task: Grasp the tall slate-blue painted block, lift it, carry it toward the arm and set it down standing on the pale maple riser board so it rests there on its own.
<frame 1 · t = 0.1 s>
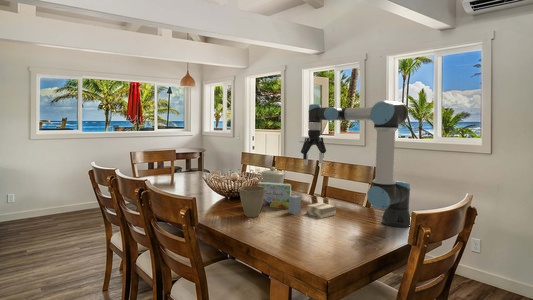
hand: (313, 164, 212), 28 cm above the table, fingers open, 13 cm apart
plant pot: (251, 216, 196), on the table
slate-blue block: (294, 213, 203), on the table
maple riser: (321, 214, 202), on the table
canister: (272, 195, 252), on the table
snack box: (273, 207, 218), on the table
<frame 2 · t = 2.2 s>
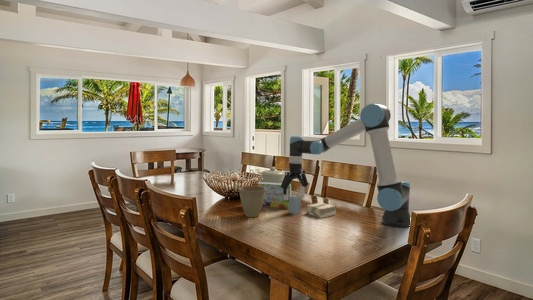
hand: (294, 198, 203), 9 cm above the table, fingers open, 13 cm apart
nothing on the table moved.
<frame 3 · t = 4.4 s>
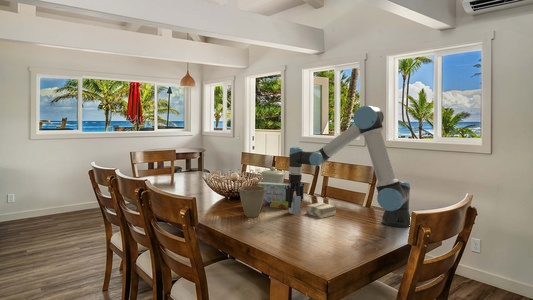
hand: (294, 212, 204), 0 cm above the table, fingers closed on slate-blue block, 5 cm apart
slate-blue block: (294, 212, 203), on the table, touching gripper
everything else where it was.
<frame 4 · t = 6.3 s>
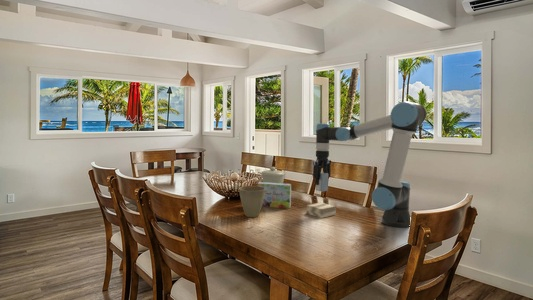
hand: (321, 189, 200), 14 cm above the table, fingers closed on slate-blue block, 5 cm apart
slate-blue block: (321, 190, 200), point 14 cm above the table, touching gripper
everything else where it was.
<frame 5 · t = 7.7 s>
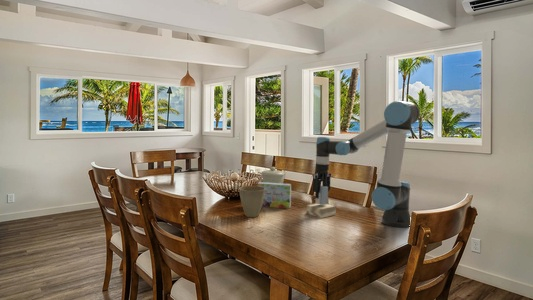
hand: (321, 202, 201), 7 cm above the table, fingers closed on slate-blue block, 5 cm apart
slate-blue block: (321, 203, 201), point 6 cm above the table, touching gripper
everything else where it was.
when the fingers open (6 cm above the table, at t = 8.5 s): slate-blue block stays where it is, resting on maple riser.
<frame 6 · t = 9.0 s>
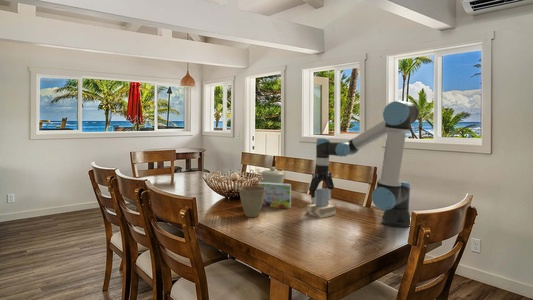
hand: (321, 201, 201), 8 cm above the table, fingers open, 12 cm apart
slate-blue block: (321, 205, 201), point 5 cm above the table, touching maple riser
everything else where it was.
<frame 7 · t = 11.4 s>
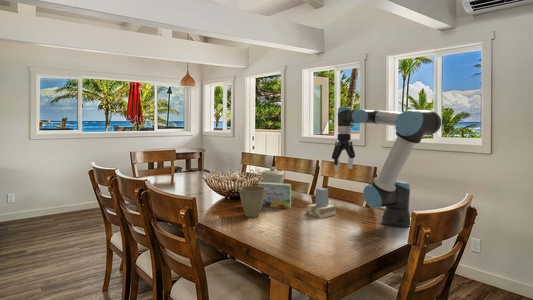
hand: (343, 169, 202), 26 cm above the table, fingers open, 13 cm apart
nothing on the table moved.
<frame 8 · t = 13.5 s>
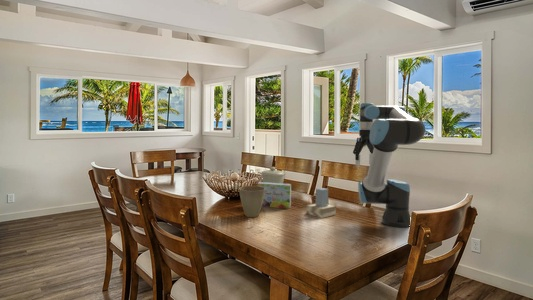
hand: (364, 164, 205), 29 cm above the table, fingers open, 13 cm apart
nothing on the table moved.
at the end: slate-blue block inside the target area on the maple riser (0.3 cm from its centre), point 5.0 cm above the maple riser's base; slate-blue block tilted 0°; slate-blue block touching maple riser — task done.
